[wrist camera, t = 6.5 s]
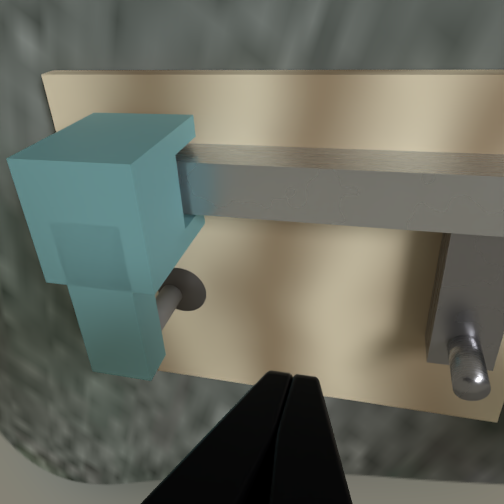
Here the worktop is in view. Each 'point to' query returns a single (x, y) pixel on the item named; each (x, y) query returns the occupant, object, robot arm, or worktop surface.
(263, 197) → the rail
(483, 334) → the fixed leg
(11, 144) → the worktop surface
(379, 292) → the template board
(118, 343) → the sliding leg
